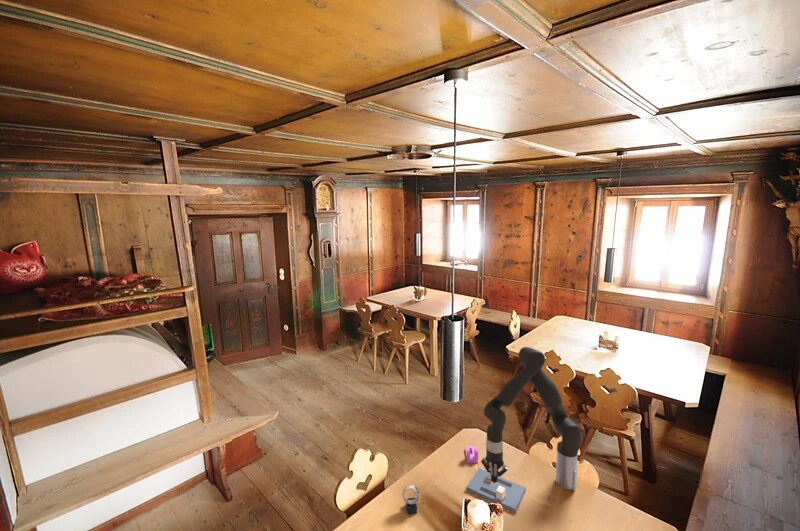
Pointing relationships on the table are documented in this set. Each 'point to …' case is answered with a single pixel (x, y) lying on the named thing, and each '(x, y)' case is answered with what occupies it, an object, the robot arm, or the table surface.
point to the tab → (500, 493)
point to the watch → (411, 499)
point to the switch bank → (488, 489)
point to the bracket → (471, 457)
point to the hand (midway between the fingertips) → (494, 481)
